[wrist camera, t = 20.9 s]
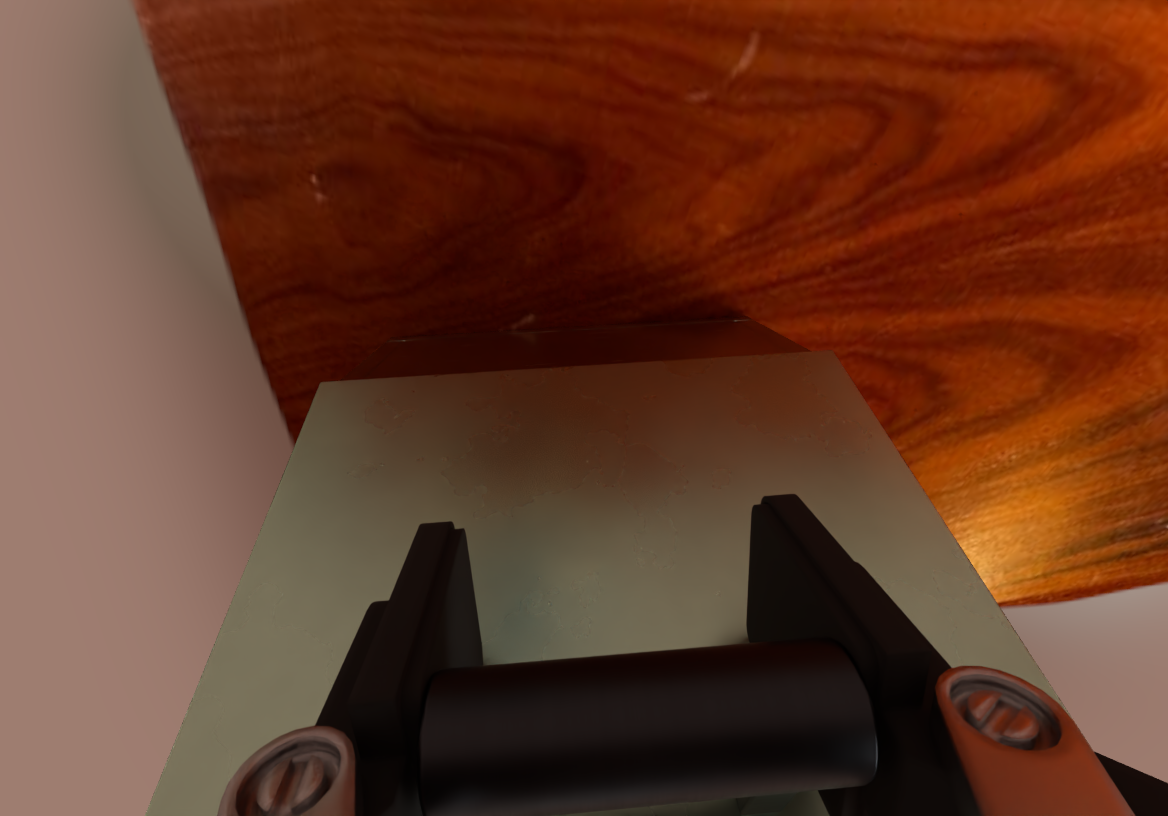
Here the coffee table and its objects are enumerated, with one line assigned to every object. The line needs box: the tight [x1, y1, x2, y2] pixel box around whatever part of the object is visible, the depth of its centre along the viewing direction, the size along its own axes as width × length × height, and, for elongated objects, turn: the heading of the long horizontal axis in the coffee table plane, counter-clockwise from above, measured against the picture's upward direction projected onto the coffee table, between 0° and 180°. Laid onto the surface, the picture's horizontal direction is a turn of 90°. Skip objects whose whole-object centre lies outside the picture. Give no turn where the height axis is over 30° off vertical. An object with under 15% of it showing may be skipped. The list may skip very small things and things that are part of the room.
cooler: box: [339, 316, 810, 381], centre depth 24 cm, size 13×16×7 cm
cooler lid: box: [145, 350, 1092, 816], centre depth 11 cm, size 14×16×5 cm
